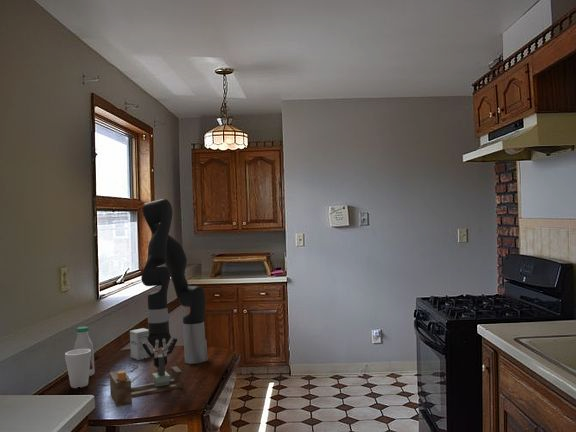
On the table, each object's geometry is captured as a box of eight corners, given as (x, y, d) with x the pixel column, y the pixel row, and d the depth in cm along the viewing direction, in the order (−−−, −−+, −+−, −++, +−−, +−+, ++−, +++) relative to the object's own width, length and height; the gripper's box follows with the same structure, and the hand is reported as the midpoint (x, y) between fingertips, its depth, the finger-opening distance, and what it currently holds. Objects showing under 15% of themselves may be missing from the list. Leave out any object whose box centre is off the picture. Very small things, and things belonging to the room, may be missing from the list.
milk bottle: (78, 373, 213) (76, 326, 214) (96, 372, 214) (94, 324, 214) (71, 379, 206) (69, 329, 206) (91, 377, 206) (89, 328, 207)
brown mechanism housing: (176, 381, 195) (176, 361, 195) (187, 392, 182) (186, 370, 182) (110, 394, 184) (109, 372, 184) (116, 406, 171) (115, 383, 171)
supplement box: (130, 357, 235) (129, 330, 235) (145, 354, 240) (143, 327, 240) (137, 360, 230) (136, 332, 230) (152, 356, 235) (151, 329, 235)
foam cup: (76, 390, 190) (74, 356, 191) (61, 387, 195) (59, 353, 196) (97, 383, 199) (96, 350, 199) (82, 380, 203) (81, 347, 204)
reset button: (125, 383, 176) (124, 370, 176) (126, 385, 174) (125, 372, 174) (118, 384, 175) (117, 371, 175) (119, 386, 173) (118, 373, 173)
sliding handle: (165, 380, 193) (164, 352, 193) (170, 385, 187) (169, 356, 187) (152, 383, 191) (151, 354, 191) (156, 388, 184) (155, 359, 184)
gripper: (174, 316, 195) (176, 361, 195) (137, 321, 189) (139, 367, 189) (179, 319, 189) (181, 365, 188) (141, 324, 182) (143, 372, 182)
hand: (160, 366), depth 189 cm, fingers closed on sliding handle, 2 cm apart
